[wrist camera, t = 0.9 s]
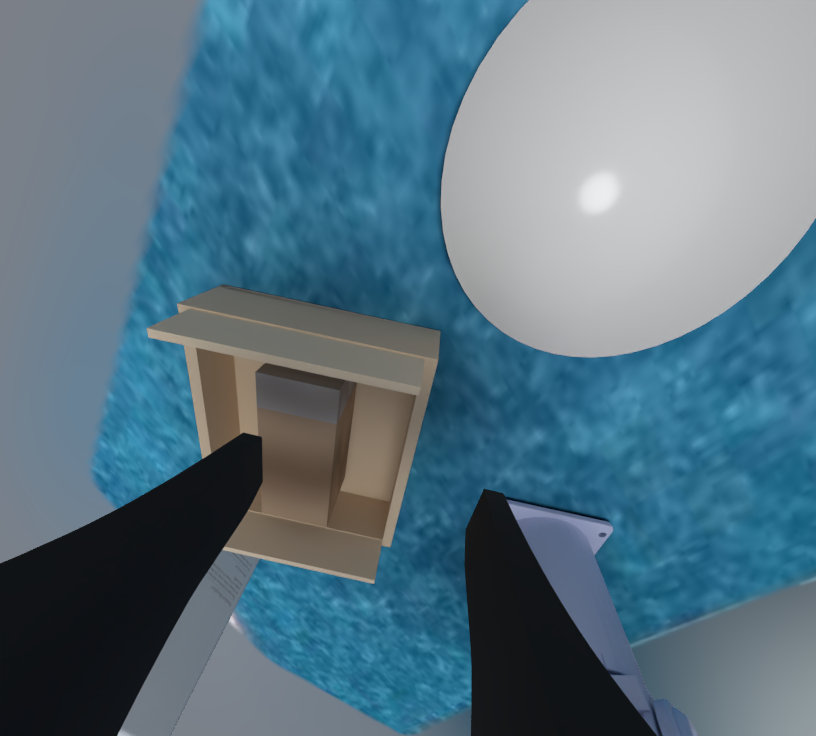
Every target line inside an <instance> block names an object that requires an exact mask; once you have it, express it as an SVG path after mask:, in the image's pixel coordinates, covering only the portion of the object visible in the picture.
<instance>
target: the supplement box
mask: <svg viewBox="0 0 816 736" xmlns="http://www.w3.org/2000/svg"><path fill="white" fill-rule="evenodd" d="M259 559H260V558H256V557H251V556H247V555H242V554H238V553H233V552H229V551H224V550H222V551H221V553H220V554H219V555H218V557H217V558H216V560H215V561H214V563H213V564H212V566H211V567H210V569H209V570H208V572H207V573H206V575H205V576H204V578H203V579H202V581H201V582H200V584H199V585H198V587H197V589H196V590H195V592H194V594H193V595H192V597H191V598H190V600H189V602H188V603H187V605H186V607H185V609H184V611H183V612H182V614H181V616H180V618H179V620H178V621H177V623H176V625H175V627H174V629H173V630H172V632H171V634H170V636H169V638H168V639H167V641H166V643H165V645H164V647H163V649H162V651H161V652H160V654H159V656H158V658H157V660H156V662H155V664H154V665H153V667H152V669H151V671H150V673H149V675H148V677H147V679H146V680H145V682H144V684H143V686H142V688H141V690H140V692H139V694H138V696H137V698H136V700H135V702H134V704H133V706H132V708H131V710H130V712H129V714H128V715H127V717H126V719H125V721H124V723H123V725H122V727H121V729H120V731H119V733H118V735H117V736H171V734H172V732H173V730H174V728H175V726H176V723H177V722H178V720H179V718H180V715H181V714H182V712H183V710H184V708H185V706H186V704H187V702H188V700H189V698H190V696H191V694H192V692H193V690H194V688H195V686H196V684H197V682H198V680H199V678H200V676H201V674H202V672H203V670H204V668H205V666H206V664H207V662H208V660H209V658H210V656H211V654H212V652H213V650H214V649H215V647H216V645H217V643H218V641H219V639H220V637H221V635H222V633H223V631H224V629H225V627H226V625H227V623H228V621H229V619H230V617H231V615H232V613H233V611H234V609H235V607H236V605H237V603H238V601H239V599H240V597H241V595H242V593H243V591H244V589H245V587H246V585H247V583H248V581H249V580H250V577H251V575H252V573H253V571H254V569H255V567H256V565H257V563H258V561H259Z"/></svg>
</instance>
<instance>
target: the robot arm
mask: <svg viewBox="0 0 816 736" xmlns="http://www.w3.org/2000/svg"><path fill="white" fill-rule="evenodd" d="M262 482H263V461H262V437H260V436H256V435H252V434H248V433H242V434H240V435H238V436H237V437H235V438H234V439H232V440H231V441H229V442H228V443H226V444H225V445H223V446H222V447H220V448H218V449H217V450H215V451H214V452H212V453H211V454H209V455H208V456H206V457H205V458H203V459H202V460H200V461H199V462H197V463H195V464H194V465H192V466H191V467H189V468H187V469H186V470H184V471H183V472H181V473H179V474H178V475H176V476H175V477H173V478H171V479H170V480H168V481H166V482H165V483H163V484H161V485H159V486H158V487H156V488H154V489H152V490H151V491H149V492H147V493H146V494H144V495H142V496H140V497H139V498H137V499H135V500H133V501H132V502H130V503H128V504H126V505H124V506H122V507H120V508H119V509H117V510H115V511H113V512H111V513H109V514H107V515H105V516H103V517H101V518H99V519H97V520H95V521H94V522H91V523H90V524H87V525H85V526H83V527H81V528H79V529H77V530H75V531H73V532H71V533H68V534H66V535H64V536H62V537H60V538H57V539H55V540H53V541H51V542H49V543H46V544H44V545H42V546H40V547H37V548H35V549H33V550H31V551H29V552H27V553H24V554H22V555H20V556H17V557H15V558H12V559H10V560H8V561H5V562H3V563H0V736H117V735H118V733H119V731H120V729H121V727H122V725H123V723H124V721H125V719H126V717H127V715H128V714H129V712H130V710H131V708H132V706H133V704H134V702H135V700H136V698H137V696H138V694H139V692H140V690H141V688H142V686H143V684H144V682H145V680H146V679H147V677H148V675H149V673H150V671H151V669H152V667H153V665H154V664H155V662H156V660H157V658H158V656H159V654H160V652H161V651H162V649H163V647H164V645H165V643H166V641H167V639H168V638H169V636H170V634H171V632H172V630H173V629H174V627H175V625H176V623H177V621H178V620H179V618H180V616H181V614H182V612H183V611H184V609H185V607H186V605H187V603H188V602H189V600H190V598H191V597H192V595H193V594H194V592H195V590H196V589H197V587H198V585H199V584H200V582H201V581H202V579H203V578H204V576H205V575H206V573H207V572H208V570H209V569H210V567H211V566H212V564H213V563H214V561H215V560H216V558H217V557H218V555H219V554H220V553H221V551H222V550H223V548H224V547H225V545H226V544H227V542H228V541H229V539H230V538H231V536H232V535H233V533H234V532H235V530H236V529H237V527H238V526H239V524H240V522H241V521H242V519H243V518H244V516H245V515H246V513H247V512H248V510H249V508H250V506H251V504H252V502H253V500H254V498H255V496H256V494H257V492H258V490H259V488H260V486H261V484H262ZM612 532H613V527H612V525H611V524H610V523H609V522H607V521H602V520H598V519H593V518H589V517H584V516H579V515H575V514H570V513H566V512H561V511H557V510H552V509H548V508H543V507H538V506H534V505H529V504H525V503H520V502H516V501H511V500H506V498H505V496H504V494H503V493H499V492H495V491H491V490H486V489H484V490H483V493H482V495H481V497H480V499H479V501H478V504H477V506H476V508H475V510H474V512H473V515H472V517H471V519H470V521H469V524H468V526H467V528H466V536H465V577H466V590H467V604H468V617H469V630H470V643H471V662H472V715H471V719H472V720H471V736H698V734H697V732H696V730H695V728H694V727H693V725H692V723H691V721H690V720H689V718H688V717H687V716H686V715H685V714H683V713H682V712H681V711H679V710H678V709H677V708H674V707H673V706H672V704H671V703H670V702H669V701H668V700H666V699H658V700H654V699H653V698H652V696H651V695H650V693H649V692H648V690H647V688H646V686H645V683H644V680H643V678H642V675H641V673H640V670H639V668H638V665H637V663H636V660H635V657H634V655H633V653H632V650H631V647H630V645H629V642H628V640H627V637H626V635H625V632H624V630H623V627H622V624H621V622H620V619H619V617H618V614H617V612H616V609H615V607H614V604H613V602H612V599H611V597H610V594H609V592H608V589H607V586H606V584H605V581H604V579H603V576H602V574H601V571H600V569H599V566H598V564H597V561H596V559H595V556H594V555H595V554H596V552H597V551H598V550H599V549H600V547H601V546H602V545H603V543H604V542H605V541H606V539H607V538H608V537H609V535H610V534H611V533H612Z"/></svg>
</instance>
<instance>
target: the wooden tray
mask: <svg viewBox="0 0 816 736" xmlns="http://www.w3.org/2000/svg"><path fill="white" fill-rule="evenodd" d="M177 305H178V311H179V314H177V315H175V316H172V317H170V318H168V319H166V320H164V321H161V322H159V323H157V324H155V325H153V326H150V327H148V328H147V332H148V336H149V338H154V339H158V340H163V341H168V342H172V343H177V344H181V345H184V348H185V354H186V360H187V367H188V373H189V379H190V385H191V391H192V397H193V404H194V410H195V416H196V422H197V428H198V434H199V441H200V447H201V453H202V459H203V458H205V457H206V456H208V455H209V454H211V453H212V452H214V451H215V450H217V449H218V448H220V447H222V446H223V445H225V444H226V443H228V442H229V441H231V440H232V439H234V438H235V437H237V436H238V435H240V434H242V433H248V434H252V435H256V436H258V420H257V399H256V379H255V372H256V371H257V370H258V369H259V368H260V367H261V366H262V365H263V364H264V363H269V364H274V365H278V366H283V367H288V368H292V369H297V370H301V371H306V372H311V373H315V374H320V375H324V376H329V377H334V378H338V379H343V380H348V381H352V382H357V386H356V394H355V401H354V409H353V417H352V425H351V433H350V441H349V449H348V457H347V465H346V473H345V478H344V481H343V484H342V487H341V489H340V492H339V495H338V497H337V500H336V503H335V506H334V508H333V511H332V514H331V517H330V519H329V522H328V525H327V527H323V526H318V525H314V524H309V523H305V522H300V521H296V520H291V519H287V518H282V517H278V516H273V515H269V514H264V513H262V502H261V486H260V488H259V490H258V492H257V494H256V496H255V498H254V500H253V502H252V504H251V506H250V508H249V510H248V512H247V513H246V515H245V516H244V518H243V519H242V521H241V522H240V524H239V526H238V527H237V529H236V530H235V532H234V533H233V535H232V536H231V538H230V539H229V541H228V542H227V544H226V545H225V547H224V548H223V550H224V551H229V552H233V553H238V554H242V555H247V556H251V557H256V558H260V559H265V560H269V561H274V562H278V563H283V564H287V565H292V566H296V567H301V568H305V569H309V570H314V571H318V572H323V573H327V574H332V575H336V576H341V577H345V578H350V579H354V580H359V581H363V582H368V583H372V584H374V581H375V576H376V571H377V566H378V561H379V556H380V550H381V545H382V546H386V547H390V546H391V542H392V538H393V534H394V531H395V527H396V523H397V519H398V515H399V511H400V507H401V503H402V500H403V496H404V492H405V488H406V484H407V480H408V476H409V472H410V468H411V465H412V461H413V457H414V453H415V449H416V445H417V441H418V437H419V433H420V430H421V426H422V422H423V418H424V414H425V410H426V406H427V402H428V398H429V395H430V391H431V387H432V383H433V379H434V375H435V371H436V367H437V364H438V359H439V345H440V331H438V330H433V329H428V328H424V327H419V326H414V325H410V324H405V323H400V322H396V321H391V320H386V319H382V318H377V317H372V316H368V315H363V314H358V313H354V312H349V311H344V310H340V309H335V308H330V307H326V306H321V305H316V304H312V303H307V302H302V301H298V300H293V299H288V298H284V297H279V296H274V295H270V294H265V293H260V292H256V291H251V290H246V289H242V288H237V287H232V286H228V285H221V286H218V287H216V288H213V289H211V290H209V291H206V292H204V293H201V294H199V295H197V296H194V297H192V298H189V299H187V300H185V301H182V302H180V303H177Z"/></svg>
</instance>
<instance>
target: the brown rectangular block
mask: <svg viewBox="0 0 816 736" xmlns="http://www.w3.org/2000/svg"><path fill="white" fill-rule="evenodd" d="M255 379H256V399H257V420H258V436H260V437H262V461H263V482H262V484H261V502H262V513H264V514H269V515H273V516H278V517H282V518H287V519H291V520H296V521H300V522H305V523H309V524H314V525H318V526H323V527H327V525H328V522H329V519H330V517H331V514H332V511H333V508H334V506H335V503H336V500H337V497H338V495H339V492H340V489H341V487H342V484H343V481H344V478H345V473H346V465H347V457H348V449H349V441H350V433H351V425H352V417H353V409H354V401H355V394H356V386H357V382H352V381H348V380H343V379H338V378H334V377H329V376H324V375H320V374H315V373H311V372H306V371H301V370H297V369H292V368H288V367H283V366H278V365H274V364H269V363H264V364H263V365H262V366H261V367H260V368H259V369H258V370H257V371H256V372H255Z"/></svg>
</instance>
